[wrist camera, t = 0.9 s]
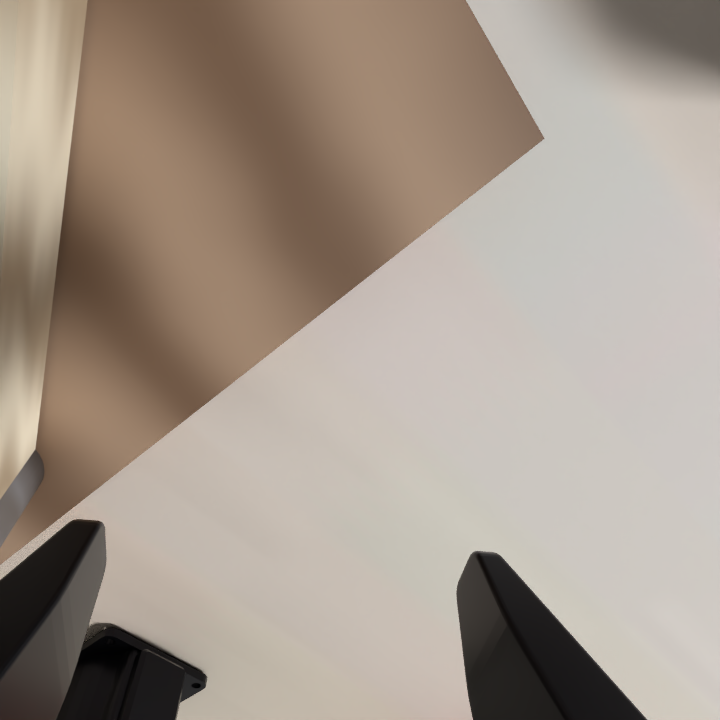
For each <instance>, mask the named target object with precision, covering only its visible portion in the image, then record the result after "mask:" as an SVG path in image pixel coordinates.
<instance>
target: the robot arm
mask: <svg viewBox="0 0 720 720" xmlns="http://www.w3.org/2000/svg"><path fill="white" fill-rule="evenodd" d="M105 567H106V540H105V527H104V524H103V523H102V522H100V521H95V520H82V519H76V520H73V521H71V522H69V523H68V524H66V525H65V526H64V527H63V528H62V529H61V530H59V531H58V532H57V533H56V534H55V535H53V536H52V537H51V538H50V539H49V540H47V541H46V542H45V543H44V544H43V545H41V546H40V547H39V548H38V549H37V550H36V551H34V552H33V553H32V554H31V555H30V556H28V557H27V558H26V559H25V560H24V561H22V562H21V563H20V564H19V565H18V566H16V567H15V568H14V569H13V570H12V571H11V572H9V573H8V574H7V575H6V576H5V577H3V578H2V579H1V580H0V720H176V718H177V714H178V709H179V704H180V702H182V701H184V700H185V699H187V698H189V697H191V696H192V695H194V694H196V693H198V692H199V691H201V690H203V689H204V688H205V687H206V682H207V676H206V675H205V674H203V673H201V672H199V671H197V670H195V669H193V668H192V667H190V666H188V665H186V664H184V663H182V662H180V661H178V660H176V659H174V658H172V657H170V656H169V655H167V654H165V653H163V652H161V651H159V650H157V649H155V648H153V647H151V646H149V645H147V644H145V643H144V642H142V641H140V640H138V639H136V638H134V637H132V636H130V635H128V634H126V633H124V632H122V631H120V630H118V629H116V628H107V629H105V630H103V631H101V632H100V633H98V634H97V635H95V636H94V637H93V638H91V639H90V640H88V641H87V642H85V643H84V644H83V642H84V639H85V635H86V632H87V629H88V625H89V622H90V619H91V615H92V612H93V609H94V606H95V602H96V599H97V596H98V592H99V589H100V586H101V582H102V579H103V576H104V572H105ZM457 605H458V614H459V622H460V631H461V640H462V648H463V657H464V666H465V674H466V682H467V690H468V697H469V702H470V707H471V712H472V717H473V720H647V719H646V718H645V717H644V716H643V714H642V713H641V712H640V711H639V710H638V709H637V708H636V707H635V705H634V704H633V703H632V702H631V701H630V700H629V699H628V698H627V697H626V695H625V694H624V693H623V692H622V691H621V690H620V689H619V688H618V686H617V685H616V684H615V683H614V682H613V681H612V680H611V679H610V677H609V676H608V675H607V674H606V673H605V672H604V671H603V670H602V669H601V667H600V666H599V665H598V664H597V663H596V662H595V661H594V660H593V658H592V657H591V656H590V655H589V654H588V653H587V652H586V651H585V650H584V648H583V647H582V646H581V645H580V644H579V643H578V642H577V641H576V639H575V638H574V637H573V636H572V635H571V634H570V633H569V632H568V630H567V629H566V628H565V627H564V626H563V625H562V624H561V623H560V622H559V620H558V619H557V618H556V617H555V616H554V615H553V614H552V613H551V611H550V610H549V609H548V608H547V607H546V606H545V605H544V604H543V603H542V601H541V600H540V599H539V598H538V597H537V596H536V595H535V594H534V592H533V591H532V590H531V589H530V588H529V587H528V586H527V585H526V584H525V582H524V581H523V580H522V579H521V578H520V577H519V576H518V575H517V573H516V572H515V571H514V570H513V569H512V568H511V567H510V566H509V564H508V563H507V562H506V561H505V560H504V559H503V558H502V557H501V556H500V555H499V554H497V553H494V552H483V551H475V552H473V553H472V554H471V555H470V557H469V559H468V561H467V564H466V566H465V568H464V570H463V573H462V575H461V577H460V580H459V582H458V585H457Z"/></svg>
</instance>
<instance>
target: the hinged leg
mask: <svg viewBox="0 0 720 720" xmlns="http://www.w3.org/2000/svg"><path fill="white" fill-rule="evenodd" d="M87 1H88V0H0V547H1V546H2V544H3V543H4V541H5V539H6V538H7V536H8V535H9V533H10V531H11V530H12V528H13V527H14V525H15V524H16V522H17V520H18V519H19V517H20V516H21V514H22V512H23V511H24V509H25V508H26V506H27V505H28V503H29V501H30V500H31V498H32V497H33V495H34V494H35V492H36V490H37V489H38V487H39V486H40V484H41V482H42V480H43V477H44V464H43V461H42V459H41V457H40V455H39V453H38V452H37V450H36V440H37V432H38V423H39V414H40V406H41V397H42V389H43V380H44V371H45V363H46V354H47V346H48V337H49V328H50V320H51V311H52V303H53V294H54V285H55V277H56V268H57V259H58V251H59V242H60V234H61V225H62V216H63V208H64V199H65V191H66V182H67V173H68V165H69V156H70V148H71V139H72V130H73V122H74V113H75V104H76V96H77V87H78V79H79V70H80V61H81V53H82V44H83V36H84V27H85V18H86V10H87Z"/></svg>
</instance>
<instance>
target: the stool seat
mask: <svg viewBox="0 0 720 720" xmlns="http://www.w3.org/2000/svg"><path fill="white" fill-rule="evenodd" d="M543 139H544V137H543V135H542V133H541V132H540V130H539V128H538V126H537V125H536V123H535V121H534V119H533V118H532V116H531V114H530V112H529V111H528V109H527V107H526V105H525V104H524V102H523V100H522V98H521V97H520V95H519V93H518V91H517V90H516V88H515V86H514V84H513V83H512V81H511V79H510V77H509V75H508V74H507V72H506V70H505V68H504V67H503V65H502V63H501V61H500V60H499V58H498V56H497V54H496V53H495V51H494V49H493V47H492V46H491V44H490V42H489V40H488V39H487V37H486V35H485V33H484V32H483V30H482V28H481V26H480V25H479V23H478V21H477V19H476V18H475V16H474V14H473V12H472V10H471V9H470V7H469V5H468V3H467V2H466V0H88V1H87V10H86V18H85V27H84V36H83V44H82V53H81V61H80V70H79V79H78V87H77V96H76V104H75V113H74V122H73V130H72V139H71V148H70V156H69V165H68V173H67V182H66V191H65V199H64V208H63V216H62V225H61V234H60V242H59V251H58V259H57V268H56V277H55V285H54V294H53V303H52V311H51V320H50V328H49V337H48V346H47V354H46V363H45V371H44V380H43V389H42V397H41V406H40V414H39V423H38V432H37V440H36V450H37V452H38V453H39V455H40V457H41V459H42V461H43V464H44V477H43V480H42V482H41V484H40V486H39V487H38V489H37V490H36V492H35V494H34V495H33V497H32V498H31V500H30V501H29V503H28V505H27V506H26V508H25V509H24V511H23V512H22V514H21V516H20V517H19V519H18V520H17V522H16V524H15V525H14V527H13V528H12V530H11V531H10V533H9V535H8V536H7V538H6V539H5V541H4V543H3V544H2V546H1V547H0V564H2V563H3V562H4V561H5V560H7V559H8V558H9V557H11V556H12V555H13V554H14V553H16V552H17V551H18V550H20V549H21V548H22V547H23V546H25V545H26V544H27V543H28V542H30V541H31V540H32V539H34V538H35V537H36V536H37V535H39V534H40V533H41V532H43V531H44V530H45V529H46V528H48V527H49V526H50V525H51V524H53V523H54V522H55V521H57V520H58V519H59V518H60V517H62V516H63V515H64V514H66V513H67V512H68V511H69V510H71V509H72V508H73V507H74V506H76V505H77V504H78V503H80V502H81V501H82V500H83V499H85V498H86V497H87V496H89V495H90V494H91V493H92V492H94V491H95V490H96V489H97V488H99V487H100V486H101V485H103V484H104V483H105V482H106V481H108V480H109V479H110V478H111V477H113V476H114V475H115V474H117V473H118V472H119V471H120V470H122V469H123V468H124V467H126V466H127V465H128V464H129V463H131V462H132V461H133V460H134V459H136V458H137V457H138V456H140V455H141V454H142V453H143V452H145V451H146V450H147V449H149V448H150V447H151V446H152V445H154V444H155V443H156V442H157V441H159V440H160V439H161V438H163V437H164V436H165V435H166V434H168V433H169V432H170V431H172V430H173V429H174V428H175V427H177V426H178V425H179V424H180V423H182V422H183V421H184V420H186V419H187V418H188V417H189V416H191V415H192V414H193V413H195V412H196V411H197V410H198V409H200V408H201V407H202V406H203V405H205V404H206V403H207V402H209V401H210V400H211V399H212V398H214V397H215V396H216V395H218V394H219V393H220V392H221V391H223V390H224V389H225V388H226V387H228V386H229V385H230V384H232V383H233V382H234V381H235V380H237V379H238V378H239V377H240V376H242V375H243V374H244V373H246V372H247V371H248V370H249V369H251V368H252V367H253V366H255V365H256V364H257V363H258V362H260V361H261V360H262V359H263V358H265V357H266V356H267V355H269V354H270V353H271V352H272V351H274V350H275V349H276V348H278V347H279V346H280V345H281V344H283V343H284V342H285V341H286V340H288V339H289V338H290V337H292V336H293V335H294V334H295V333H297V332H298V331H299V330H301V329H302V328H303V327H304V326H306V325H307V324H308V323H309V322H311V321H312V320H313V319H315V318H316V317H317V316H318V315H320V314H321V313H322V312H324V311H325V310H326V309H327V308H329V307H330V306H331V305H332V304H334V303H335V302H336V301H338V300H339V299H340V298H341V297H343V296H344V295H345V294H347V293H348V292H349V291H350V290H352V289H353V288H354V287H355V286H357V285H358V284H359V283H361V282H362V281H363V280H364V279H366V278H367V277H368V276H369V275H371V274H372V273H373V272H375V271H376V270H377V269H378V268H380V267H381V266H382V265H384V264H385V263H386V262H387V261H389V260H390V259H391V258H392V257H394V256H395V255H396V254H398V253H399V252H400V251H401V250H403V249H404V248H405V247H407V246H408V245H409V244H410V243H412V242H413V241H414V240H415V239H417V238H418V237H419V236H421V235H422V234H423V233H424V232H426V231H427V230H428V229H430V228H431V227H432V226H433V225H435V224H436V223H437V222H438V221H440V220H441V219H442V218H444V217H445V216H446V215H447V214H449V213H450V212H451V211H453V210H454V209H455V208H456V207H458V206H459V205H460V204H461V203H463V202H464V201H465V200H467V199H468V198H469V197H470V196H472V195H473V194H474V193H476V192H477V191H478V190H479V189H481V188H482V187H483V186H484V185H486V184H487V183H488V182H490V181H491V180H492V179H493V178H495V177H496V176H497V175H498V174H500V173H501V172H502V171H504V170H505V169H506V168H507V167H509V166H510V165H511V164H513V163H514V162H515V161H516V160H518V159H519V158H520V157H521V156H523V155H524V154H525V153H527V152H528V151H529V150H530V149H532V148H533V147H534V146H536V145H537V144H538V143H539V142H541V141H542V140H543Z"/></svg>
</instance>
